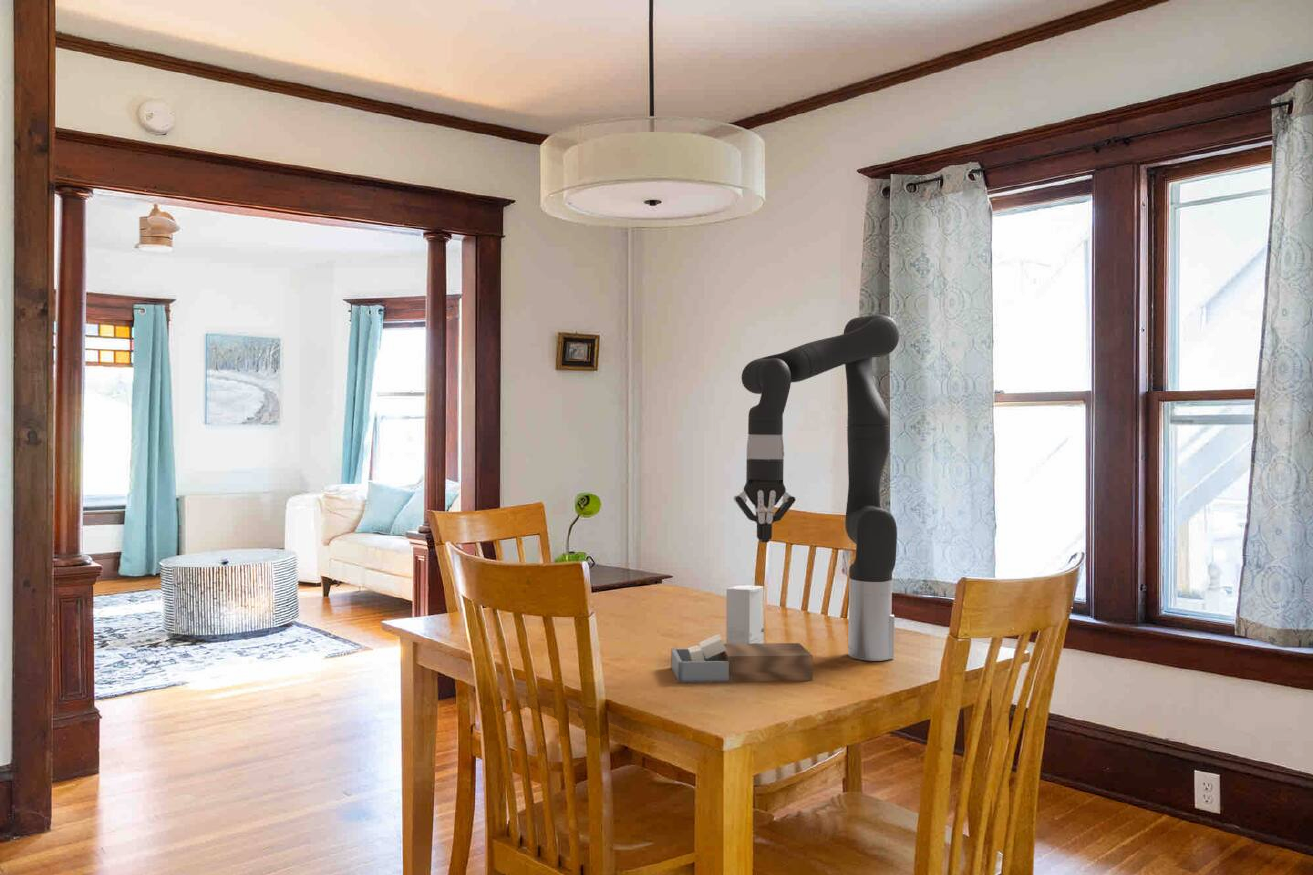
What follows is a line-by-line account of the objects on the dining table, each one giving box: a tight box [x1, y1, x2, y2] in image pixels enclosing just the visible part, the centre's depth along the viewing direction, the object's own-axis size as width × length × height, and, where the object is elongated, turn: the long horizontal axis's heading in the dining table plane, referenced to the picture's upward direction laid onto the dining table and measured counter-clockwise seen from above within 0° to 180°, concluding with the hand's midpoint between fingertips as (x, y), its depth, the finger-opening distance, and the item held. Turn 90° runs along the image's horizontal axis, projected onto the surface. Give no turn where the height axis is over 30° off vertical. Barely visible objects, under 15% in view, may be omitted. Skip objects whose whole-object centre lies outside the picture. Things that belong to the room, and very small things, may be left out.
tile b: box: [687, 644, 705, 661], centre depth 194 cm, size 4×4×2 cm
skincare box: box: [725, 584, 765, 644], centre depth 213 cm, size 8×6×15 cm
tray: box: [670, 647, 729, 684], centre depth 193 cm, size 10×12×4 cm
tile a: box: [698, 633, 726, 659], centre depth 195 cm, size 4×4×2 cm
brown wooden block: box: [719, 642, 814, 683], centre depth 195 cm, size 17×11×5 cm, turn 96°
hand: (763, 541), depth 194 cm, fingers closed
